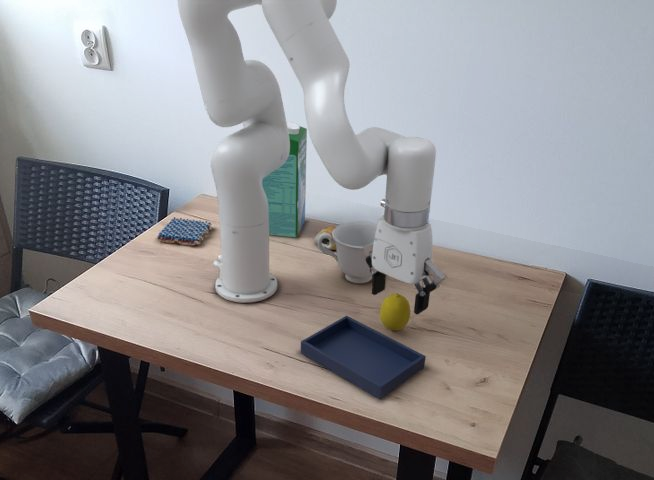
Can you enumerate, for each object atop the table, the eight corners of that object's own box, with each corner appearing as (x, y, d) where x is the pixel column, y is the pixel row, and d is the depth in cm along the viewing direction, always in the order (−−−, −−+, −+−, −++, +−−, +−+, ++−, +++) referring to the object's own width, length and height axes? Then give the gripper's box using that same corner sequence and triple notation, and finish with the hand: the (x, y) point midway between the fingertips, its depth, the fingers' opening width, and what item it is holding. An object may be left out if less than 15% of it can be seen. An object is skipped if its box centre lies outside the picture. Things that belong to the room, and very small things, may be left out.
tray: (300, 353, 125) (300, 341, 124) (345, 326, 132) (346, 315, 131) (379, 399, 115) (381, 386, 113) (424, 368, 122) (425, 356, 121)
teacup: (317, 261, 153) (318, 219, 147) (385, 264, 153) (389, 221, 147) (315, 289, 143) (317, 245, 138) (388, 292, 143) (393, 248, 137)
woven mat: (214, 228, 166) (214, 220, 165) (198, 248, 157) (198, 240, 156) (173, 223, 168) (172, 215, 167) (155, 242, 159) (154, 234, 158)
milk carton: (297, 238, 163) (298, 130, 148) (259, 233, 164) (257, 126, 150) (305, 221, 170) (307, 117, 155) (268, 217, 171) (267, 114, 157)
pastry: (341, 231, 166) (342, 216, 164) (362, 241, 162) (363, 226, 160) (312, 243, 160) (313, 228, 158) (333, 254, 156) (333, 238, 154)
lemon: (374, 334, 130) (378, 298, 126) (383, 320, 135) (387, 283, 130) (403, 341, 129) (408, 304, 124) (411, 326, 133) (416, 290, 128)
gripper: (353, 205, 121) (349, 292, 130) (436, 236, 111) (425, 327, 121) (380, 193, 125) (375, 278, 135) (462, 222, 115) (450, 311, 125)
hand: (398, 301), depth 128 cm, fingers open, 9 cm apart
